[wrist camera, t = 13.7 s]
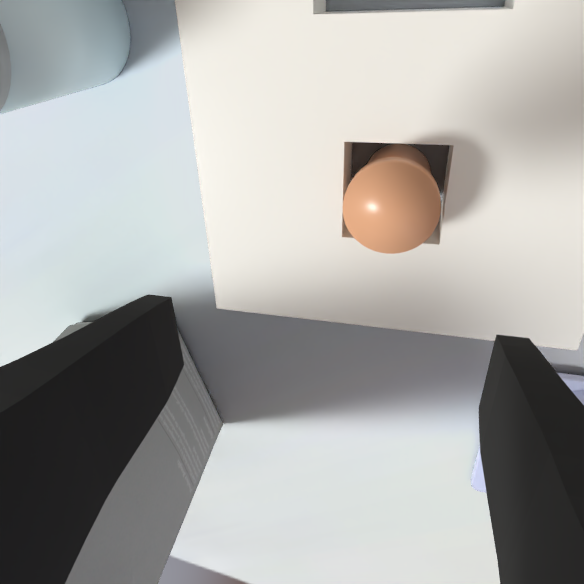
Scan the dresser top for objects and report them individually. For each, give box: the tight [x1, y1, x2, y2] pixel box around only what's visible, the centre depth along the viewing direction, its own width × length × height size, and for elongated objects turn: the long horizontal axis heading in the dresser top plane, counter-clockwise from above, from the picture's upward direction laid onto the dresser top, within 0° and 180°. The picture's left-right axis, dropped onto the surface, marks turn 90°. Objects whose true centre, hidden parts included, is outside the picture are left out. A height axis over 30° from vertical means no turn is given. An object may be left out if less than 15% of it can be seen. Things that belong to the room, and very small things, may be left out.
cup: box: [0, 0, 131, 114], centre depth 15 cm, size 4×4×7 cm
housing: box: [175, 0, 584, 351], centre depth 15 cm, size 14×20×2 cm
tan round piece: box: [342, 144, 441, 254], centre depth 16 cm, size 3×3×3 cm
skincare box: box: [54, 322, 223, 584], centre depth 20 cm, size 8×7×16 cm
